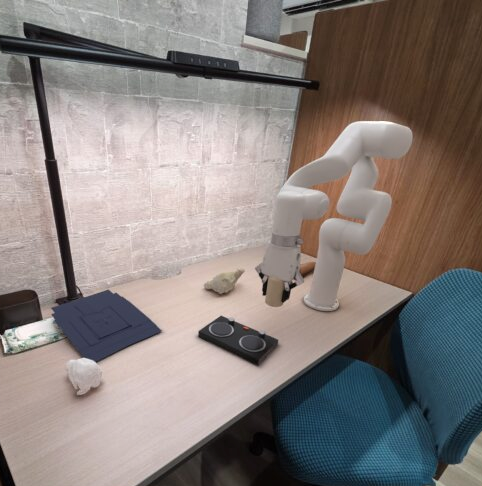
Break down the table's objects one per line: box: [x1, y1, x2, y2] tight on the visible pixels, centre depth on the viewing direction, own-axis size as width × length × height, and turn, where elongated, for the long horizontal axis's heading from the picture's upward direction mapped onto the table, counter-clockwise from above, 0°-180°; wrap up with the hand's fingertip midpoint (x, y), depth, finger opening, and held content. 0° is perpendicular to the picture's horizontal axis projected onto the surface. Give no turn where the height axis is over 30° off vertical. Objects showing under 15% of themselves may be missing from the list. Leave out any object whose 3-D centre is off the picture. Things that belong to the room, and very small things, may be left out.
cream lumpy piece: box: [203, 268, 246, 295], centre depth 124 cm, size 15×7×15 cm
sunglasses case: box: [293, 261, 316, 281], centre depth 143 cm, size 18×7×7 cm, turn 135°
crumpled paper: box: [65, 357, 103, 396], centre depth 76 cm, size 6×8×12 cm
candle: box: [264, 276, 285, 308], centre depth 93 cm, size 6×6×10 cm
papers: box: [50, 288, 163, 363], centre depth 100 cm, size 24×30×4 cm
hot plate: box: [197, 315, 279, 366], centre depth 95 cm, size 12×21×3 cm, turn 52°
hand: (275, 296), depth 95 cm, fingers closed on candle, 5 cm apart
